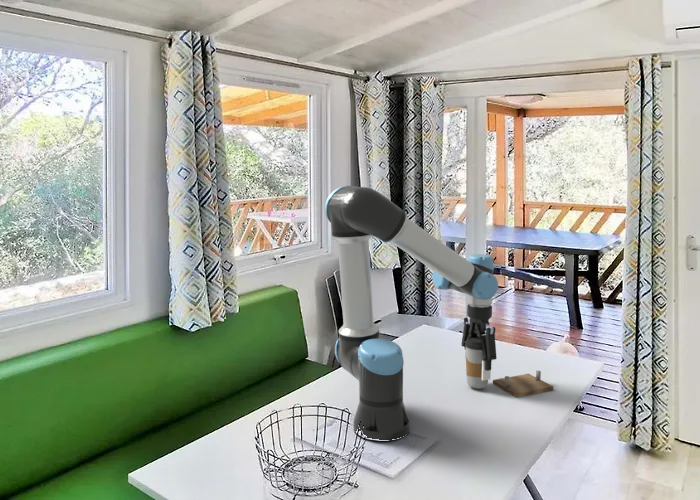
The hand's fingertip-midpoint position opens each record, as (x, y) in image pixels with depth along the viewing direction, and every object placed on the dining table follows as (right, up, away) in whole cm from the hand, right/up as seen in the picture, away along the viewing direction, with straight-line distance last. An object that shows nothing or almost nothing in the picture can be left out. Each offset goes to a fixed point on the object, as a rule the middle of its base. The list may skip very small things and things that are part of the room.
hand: (477, 374), depth 180 cm
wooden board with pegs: (+14, -4, +1) cm, 15 cm away
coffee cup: (0, -4, +1) cm, 4 cm away
